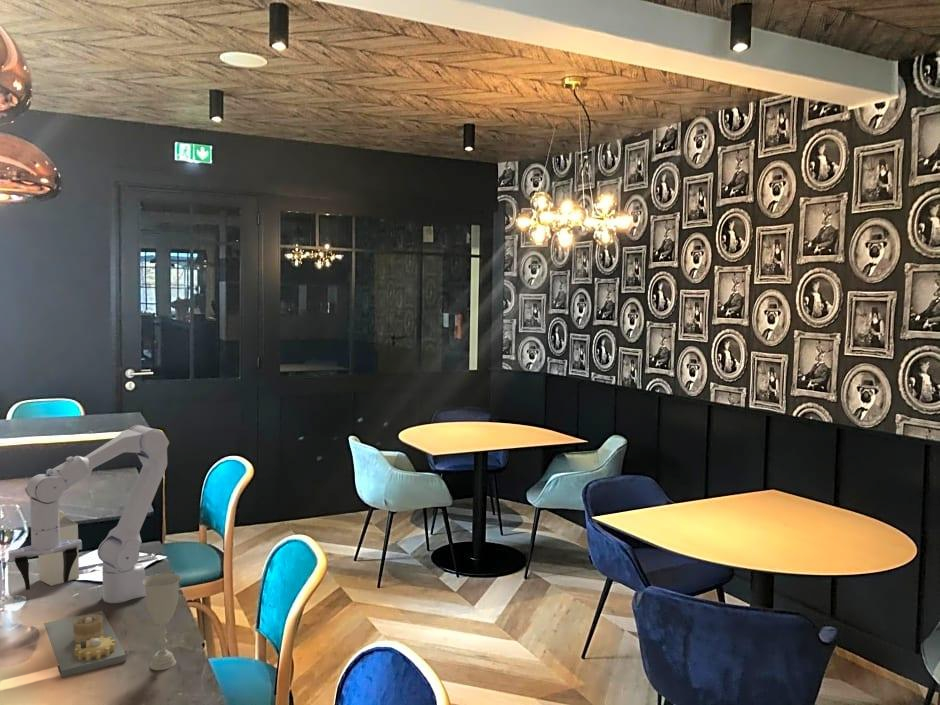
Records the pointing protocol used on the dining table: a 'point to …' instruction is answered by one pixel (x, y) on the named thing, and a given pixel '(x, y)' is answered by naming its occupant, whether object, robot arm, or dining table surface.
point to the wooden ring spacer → (88, 628)
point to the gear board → (83, 647)
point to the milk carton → (59, 556)
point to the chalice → (162, 612)
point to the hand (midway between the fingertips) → (46, 584)
